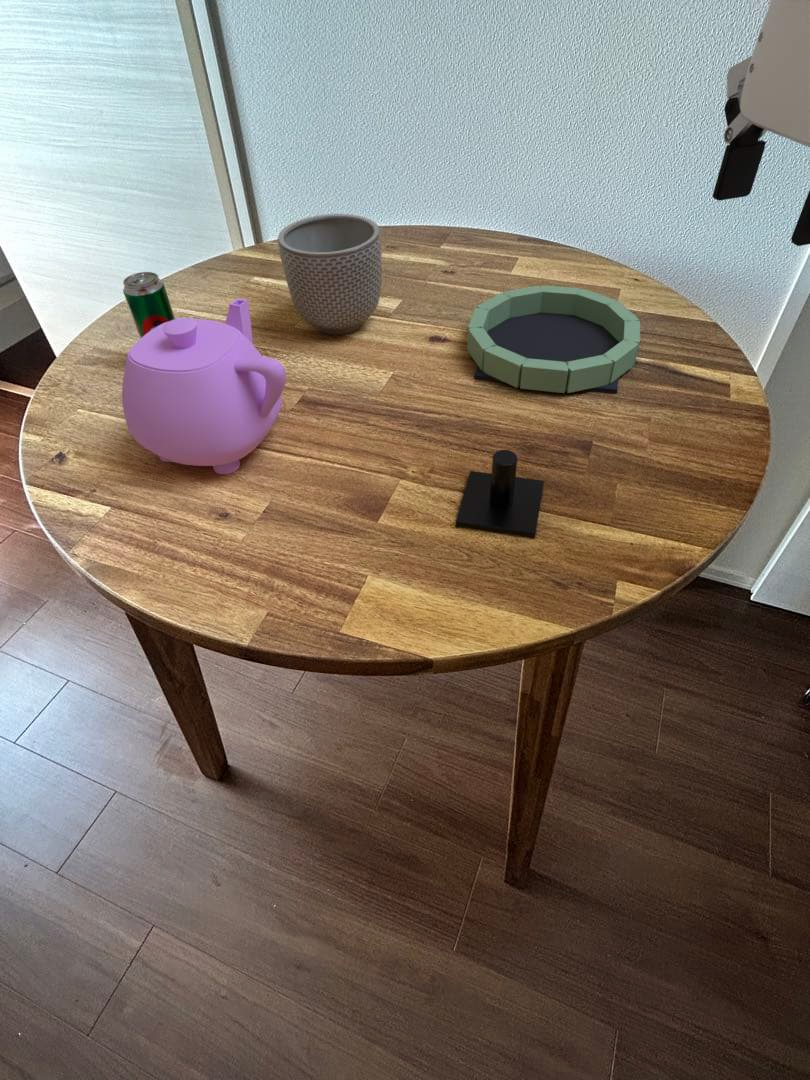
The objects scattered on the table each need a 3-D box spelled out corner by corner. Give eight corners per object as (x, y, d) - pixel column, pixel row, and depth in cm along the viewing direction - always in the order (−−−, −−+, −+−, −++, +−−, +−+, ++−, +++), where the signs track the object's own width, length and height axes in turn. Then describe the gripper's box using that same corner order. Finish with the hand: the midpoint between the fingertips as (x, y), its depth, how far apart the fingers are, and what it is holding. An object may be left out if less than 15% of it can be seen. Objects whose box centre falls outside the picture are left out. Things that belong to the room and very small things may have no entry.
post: (543, 485, 69) (550, 437, 65) (534, 538, 64) (542, 490, 59) (469, 476, 71) (471, 427, 66) (455, 526, 66) (456, 478, 61)
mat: (620, 323, 92) (621, 319, 92) (616, 393, 81) (617, 389, 80) (495, 312, 96) (495, 308, 96) (473, 378, 84) (473, 374, 84)
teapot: (343, 401, 82) (328, 285, 71) (268, 504, 69) (236, 383, 58) (209, 377, 87) (176, 266, 76) (117, 469, 74) (61, 352, 63)
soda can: (195, 359, 90) (169, 275, 82) (169, 377, 88) (139, 291, 79) (170, 350, 92) (142, 267, 84) (143, 367, 89) (111, 283, 81)
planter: (386, 345, 91) (380, 251, 82) (288, 349, 91) (270, 257, 82) (387, 299, 100) (381, 210, 91) (297, 303, 101) (283, 215, 91)
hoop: (635, 313, 93) (640, 292, 91) (633, 400, 78) (639, 377, 76) (483, 301, 97) (484, 281, 95) (455, 382, 83) (455, 359, 80)
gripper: (1061, -81, 33) (893, 254, 46) (824, -93, 45) (741, 177, 57) (940, -70, 32) (801, 271, 44) (729, -85, 44) (665, 189, 56)
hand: (768, 218), depth 51 cm, fingers open, 9 cm apart
